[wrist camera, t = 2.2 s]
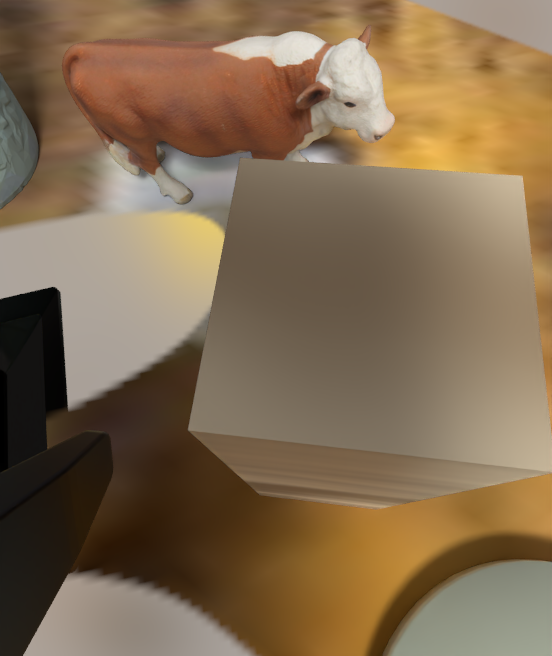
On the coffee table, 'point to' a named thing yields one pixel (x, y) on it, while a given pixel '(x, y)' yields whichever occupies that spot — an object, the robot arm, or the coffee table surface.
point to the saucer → (482, 613)
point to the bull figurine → (224, 97)
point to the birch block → (374, 335)
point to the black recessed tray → (30, 372)
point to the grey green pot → (14, 146)
